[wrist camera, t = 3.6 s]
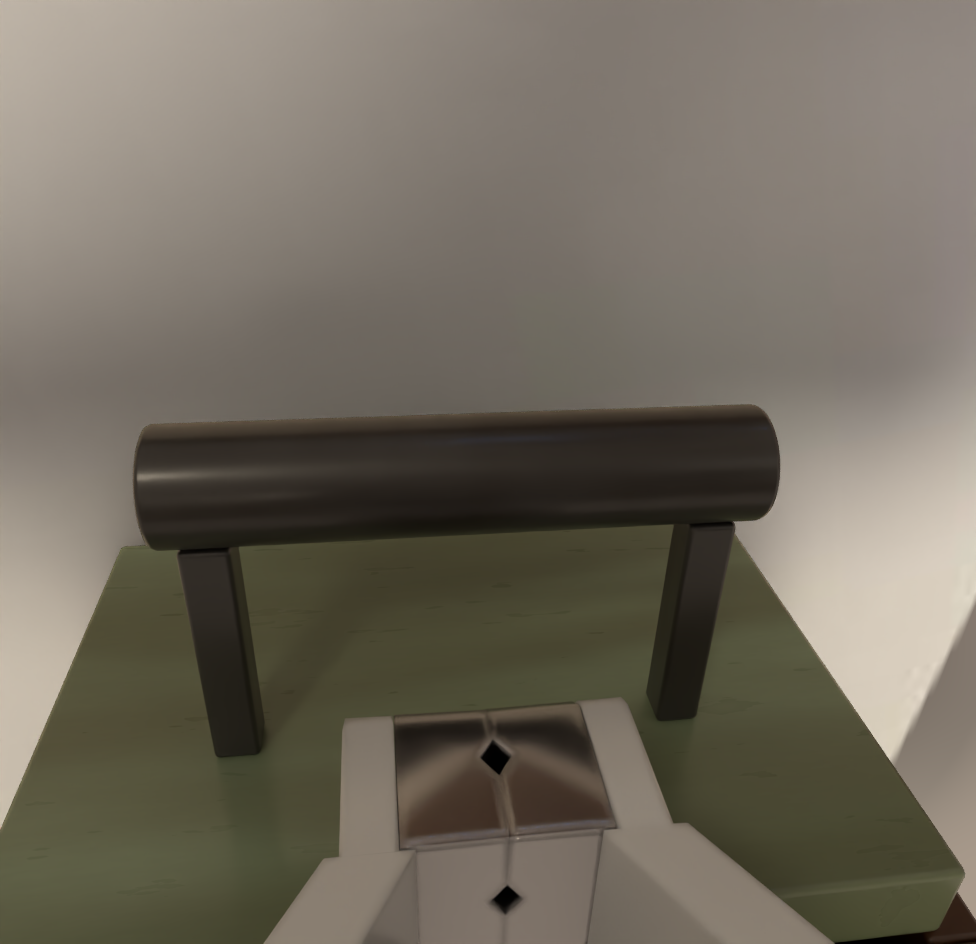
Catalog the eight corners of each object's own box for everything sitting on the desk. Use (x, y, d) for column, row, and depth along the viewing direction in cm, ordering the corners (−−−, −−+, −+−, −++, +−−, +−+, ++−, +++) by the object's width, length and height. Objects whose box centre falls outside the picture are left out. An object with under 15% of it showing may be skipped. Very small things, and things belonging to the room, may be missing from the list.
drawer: (60, 290, 13) (-273, 626, 6) (770, 281, 14) (1135, 544, 7) (220, 970, 22) (157, 1405, 15) (642, 922, 23) (756, 1300, 17)
